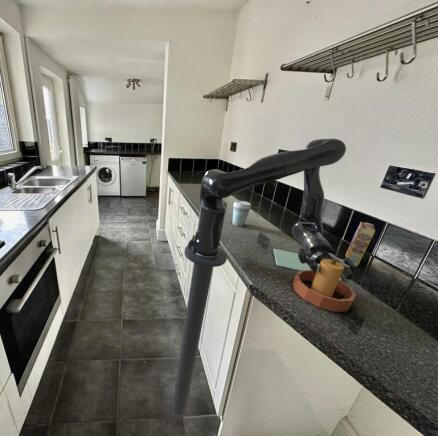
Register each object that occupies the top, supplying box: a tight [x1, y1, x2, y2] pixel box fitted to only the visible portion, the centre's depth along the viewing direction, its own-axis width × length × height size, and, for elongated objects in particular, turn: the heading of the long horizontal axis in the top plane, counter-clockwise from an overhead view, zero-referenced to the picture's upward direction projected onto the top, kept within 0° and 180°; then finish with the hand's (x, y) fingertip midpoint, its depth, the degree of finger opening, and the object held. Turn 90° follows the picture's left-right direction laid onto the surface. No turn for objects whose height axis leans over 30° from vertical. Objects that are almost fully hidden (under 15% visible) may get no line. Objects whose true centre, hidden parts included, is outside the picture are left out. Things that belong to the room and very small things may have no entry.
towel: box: [272, 248, 343, 281], centre depth 88 cm, size 20×14×1 cm
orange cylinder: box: [310, 258, 344, 298], centre depth 69 cm, size 5×5×12 cm
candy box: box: [345, 221, 376, 267], centre depth 90 cm, size 9×4×15 cm, turn 140°
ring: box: [292, 270, 357, 313], centre depth 71 cm, size 15×15×4 cm
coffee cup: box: [231, 200, 252, 227], centre depth 120 cm, size 8×9×12 cm
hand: (332, 273), depth 66 cm, fingers open, 7 cm apart
